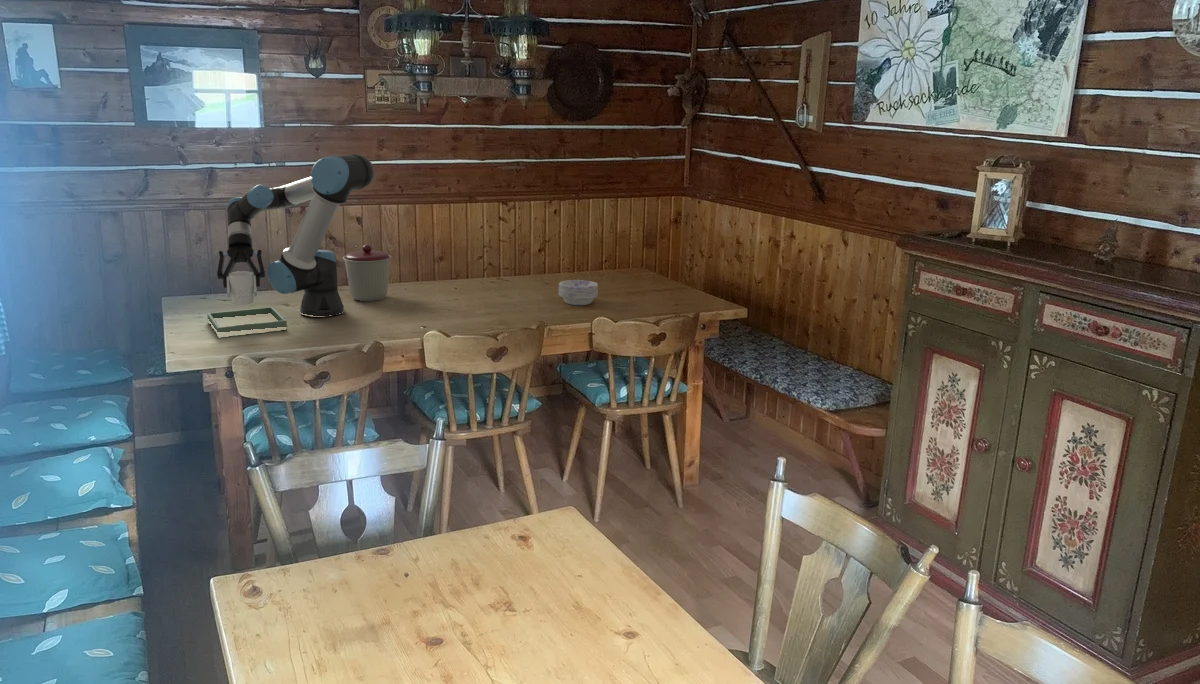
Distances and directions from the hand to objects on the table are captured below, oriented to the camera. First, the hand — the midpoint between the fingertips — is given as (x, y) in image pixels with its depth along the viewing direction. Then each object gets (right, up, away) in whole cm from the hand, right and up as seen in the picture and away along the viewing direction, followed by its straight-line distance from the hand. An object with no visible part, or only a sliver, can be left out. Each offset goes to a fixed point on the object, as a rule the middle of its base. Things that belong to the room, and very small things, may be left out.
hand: (242, 294), depth 306 cm
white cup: (-1, -3, +4) cm, 5 cm away
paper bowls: (+111, -1, +50) cm, 122 cm away
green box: (-1, -11, +6) cm, 12 cm away
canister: (+30, +1, +49) cm, 58 cm away
